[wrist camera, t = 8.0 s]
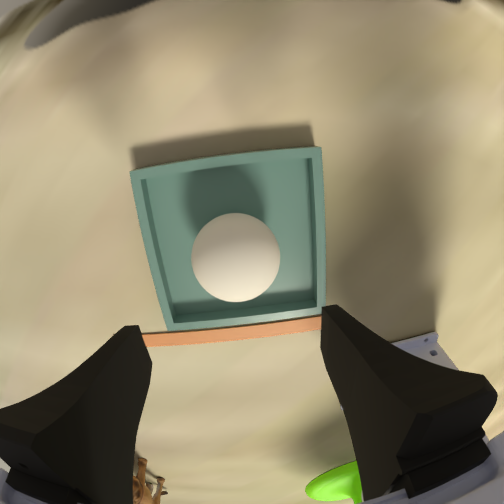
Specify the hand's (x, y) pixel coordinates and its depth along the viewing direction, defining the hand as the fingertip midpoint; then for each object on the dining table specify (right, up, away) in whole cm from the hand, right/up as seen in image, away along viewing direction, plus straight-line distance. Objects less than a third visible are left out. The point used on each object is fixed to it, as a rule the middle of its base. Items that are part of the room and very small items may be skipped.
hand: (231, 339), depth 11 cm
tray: (0, +4, +8) cm, 9 cm away
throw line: (-2, -3, +11) cm, 12 cm away
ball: (0, +4, +8) cm, 9 cm away
